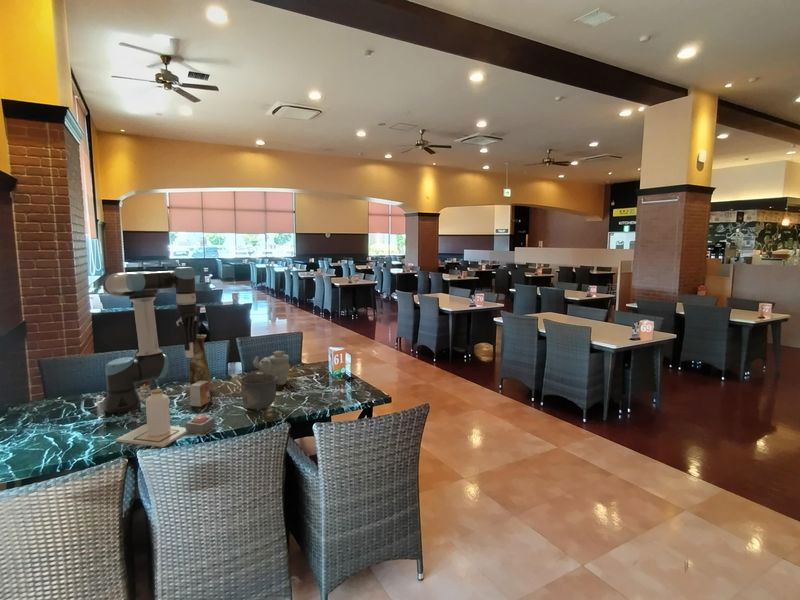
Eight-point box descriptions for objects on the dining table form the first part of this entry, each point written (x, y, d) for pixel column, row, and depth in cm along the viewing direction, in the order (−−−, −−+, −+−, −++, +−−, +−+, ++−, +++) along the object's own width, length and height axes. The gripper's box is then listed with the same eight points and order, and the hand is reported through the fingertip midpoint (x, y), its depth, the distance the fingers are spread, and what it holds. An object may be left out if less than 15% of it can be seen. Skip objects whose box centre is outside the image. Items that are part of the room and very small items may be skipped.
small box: (200, 407, 217) (199, 385, 216) (190, 406, 218) (189, 385, 217) (210, 401, 225) (209, 380, 224) (200, 400, 226) (199, 380, 225)
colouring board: (116, 441, 179) (115, 438, 179) (146, 425, 195) (146, 423, 194) (163, 447, 174) (163, 444, 174) (191, 430, 190) (190, 427, 190)
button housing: (185, 432, 188) (185, 423, 187) (198, 424, 196) (197, 415, 195) (202, 434, 186) (202, 424, 186) (214, 426, 194) (214, 417, 193)
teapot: (252, 384, 252) (251, 351, 249) (272, 377, 265) (271, 346, 262) (275, 388, 244) (274, 355, 242) (293, 381, 257) (292, 349, 255)
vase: (203, 394, 235) (200, 338, 231) (185, 393, 237) (181, 337, 233) (214, 388, 245) (212, 334, 241) (197, 387, 247) (193, 333, 243)
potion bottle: (174, 428, 189) (171, 387, 186) (164, 437, 180) (161, 393, 178) (154, 428, 188) (151, 387, 186) (143, 437, 180) (140, 394, 178)
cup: (286, 403, 221) (285, 374, 219) (266, 417, 205) (265, 385, 203) (254, 400, 226) (253, 371, 224) (233, 413, 209) (231, 381, 207)
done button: (191, 428, 189) (190, 419, 188) (199, 423, 194) (198, 414, 193) (201, 429, 188) (201, 420, 187) (209, 424, 193) (208, 415, 192)
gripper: (183, 305, 185) (186, 361, 188) (204, 301, 197) (206, 354, 200) (167, 305, 186) (171, 360, 189) (189, 301, 199) (192, 353, 202)
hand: (189, 357), depth 195 cm, fingers closed
